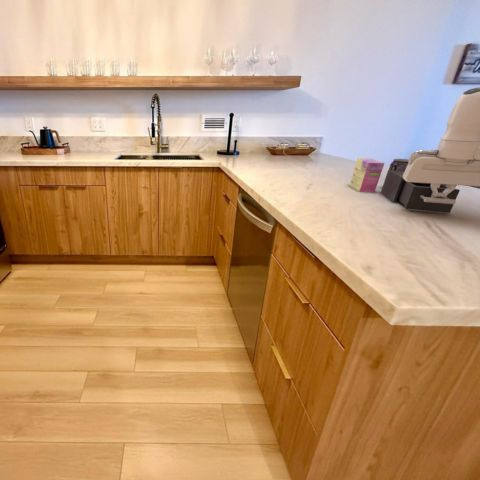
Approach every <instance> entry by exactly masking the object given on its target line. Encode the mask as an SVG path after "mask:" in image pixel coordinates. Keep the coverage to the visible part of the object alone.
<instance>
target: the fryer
mask: <svg viewBox="0 0 480 480" xmlns="http://www.w3.org/2000/svg"><path fill="white" fill-rule="evenodd" d="M403 174H404V171H398V170H389V169H388V170H387V172H386V175H385V178H384V182H383V184H382V188H381V191H380V193H381V194H382V195H383V196H385V198H387V200H390V201H391V203H393V204H402V203H401V202H400V201H399V200H397V198H398V195H399V192H400V190H401V187H402V184H403V181H404V179H403ZM444 185H447V184H444Z"/></svg>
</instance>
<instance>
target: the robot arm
mask: <svg viewBox="0 0 480 480" xmlns="http://www.w3.org/2000/svg"><path fill="white" fill-rule="evenodd" d="M408 160H409V161H408V163H409V164H408V165H407V167H406V169H405V171H404V174H403V179H404V180H405V181H407V182H416V183H431V185H430V186H431V189H432V192H433V193H432V195H431V198H443V199H446V197H447V194H449V193H450V192H452V191H453V190H454V189H457V188H456V187H457V186H462V187H463V186H464V187H465V186H466V187H467V186H468V187H480V86H479V87H473V88H470V89H467V90H465V91H463V92H462V93H461V94H460V96H459V97H458V98H457V100H456V102H455V103H454V105H453V106H452V109H451V111H450V114H449V115H448V119H447V122H446V129H445V131H444V133H443V135H442V136H441V137H440V139H439V143H438V144H437V147H436V149H434V150H433V149H431V150H430V149H429V150H428V149H427V150H425V149H418V150H417V151H414V152H412V153H411V154H410V155H409V158H408ZM441 184H447V185H446V187H448V188H446V189H445V190H444V191H443V192H438V190H437V188H439V187H440V185H441Z"/></svg>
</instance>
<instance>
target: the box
mask: <svg viewBox="0 0 480 480" xmlns="http://www.w3.org/2000/svg"><path fill="white" fill-rule="evenodd" d="M384 166H385V162H382V161H379V160H376V159H374V158H369V157H368V158H367V157H366V158H365V157H363V158H362V157H357V158H356V161H355V165H354V168H353V172H352V175H351V178H350V182H349V185H348V186H349V187H351V188H352V189H354V190H355V191H358V192H360V193H375V192H376V189H377V186H378V184H379V181H380V177H381V176H382V172H383V170H384Z"/></svg>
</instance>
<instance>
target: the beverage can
mask: <svg viewBox="0 0 480 480" xmlns="http://www.w3.org/2000/svg"><path fill="white" fill-rule="evenodd" d="M408 161H409V158H407V159H406V158H394V159H393V161H391V162H390V165H389V168H388V170H398V171H405V169H406V167H407V165H408V164H409V163H408Z"/></svg>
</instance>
